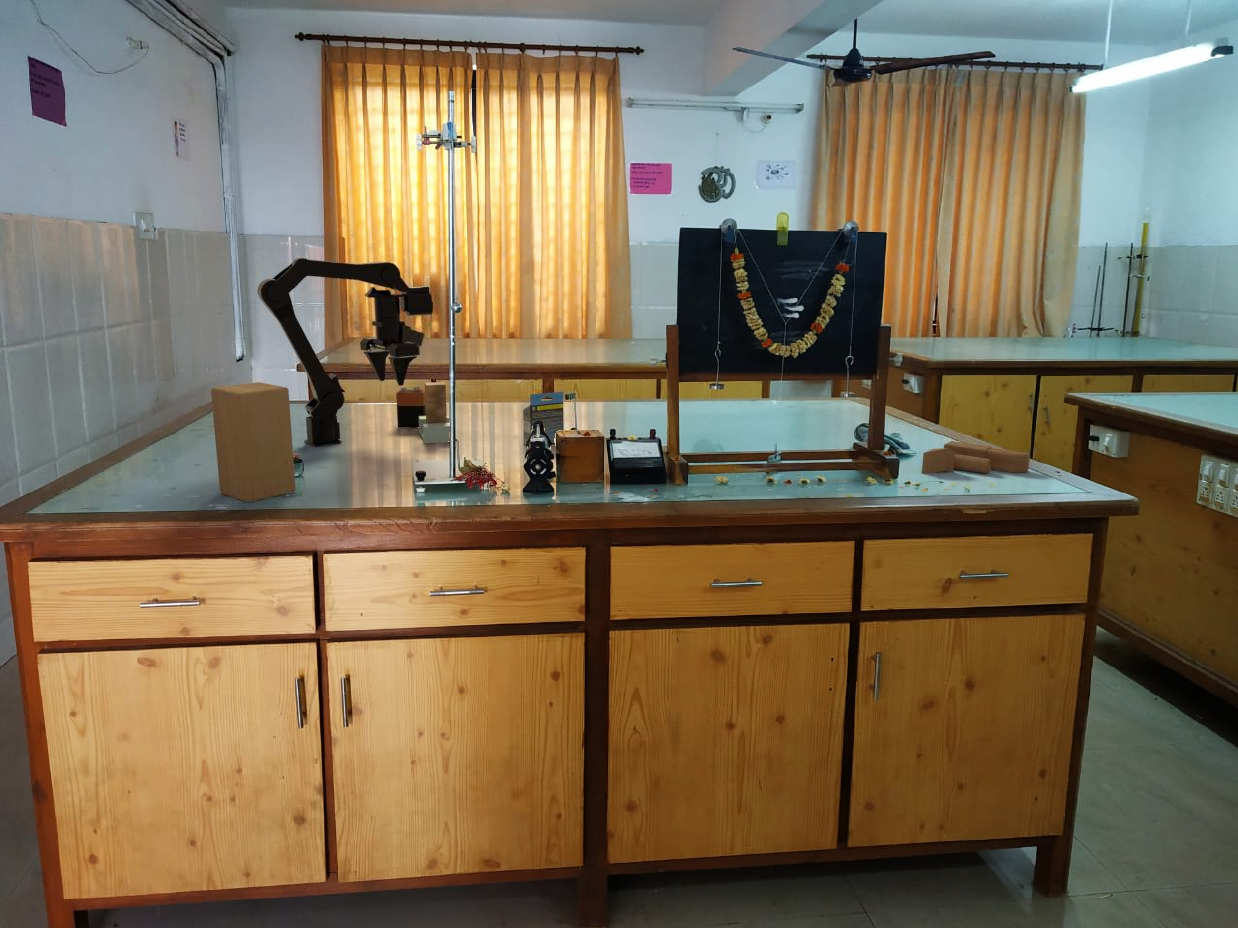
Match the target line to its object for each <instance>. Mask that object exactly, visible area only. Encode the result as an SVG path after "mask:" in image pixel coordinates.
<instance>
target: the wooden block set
mask: <svg viewBox="0 0 1238 928" xmlns="http://www.w3.org/2000/svg"><path fill="white" fill-rule="evenodd" d="M1030 460H1031V454H1030V453H1029V452H1023V451H1017V450H1011V449H1004V448H1003V449H1002V448H996V447H992V446H989V445H982V444H976V443H969V442H961V441H955V440H954V441H953V440H951V441H948V442H946V443H944V444H943V448H931V449H929V450H927V451H925V452H923V455H922V466H921V474H940V473H941V474H943V473H946V474H947V473H954V470H957V471H964V472H971V473H978V474H983V475H988V474H989V473H990V472H991V471H995V472H1001V473H1002V472H1003V473H1009V474H1010V473H1011V474H1023V473H1024V474H1026V473H1027V472H1029V468H1030Z"/></svg>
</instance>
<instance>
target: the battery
mask: <svg viewBox="0 0 1238 928" xmlns="http://www.w3.org/2000/svg"><path fill="white" fill-rule="evenodd" d="M395 396H396V398H395V399H396V419H397V427H398V428H399V427H419V416H426V406H425V389H422V386H414V387H412V389H407V387H400V389H399V390H398V391H397V392H396V393H395Z"/></svg>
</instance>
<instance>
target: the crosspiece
mask: <svg viewBox="0 0 1238 928" xmlns="http://www.w3.org/2000/svg"><path fill="white" fill-rule="evenodd" d="M449 421H451V419H450V416H449V415H448V414H447V423H432V424H426V416H419V428H418V431H419V435H420V437H421V438H422V441H423V443H424V444H425V443H426V444H425V445H428V444H427V443H435V444H449V443H448V440H449V432H450V423H451V422H450V423H449Z"/></svg>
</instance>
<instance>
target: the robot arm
mask: <svg viewBox="0 0 1238 928" xmlns="http://www.w3.org/2000/svg"><path fill="white" fill-rule="evenodd" d="M306 277H314V278H315V277H317V278H326V279H327V278H328V279H341V280H349V281H350V280H351V281H358V282H363V283H366V284H371V285H375V286H378V287H381V288H386V289H376V287H374V286H370V287H369V288H370V289H369V290H368V291H367V292H366V293H364V297H366V298H371V299H373V302H374V303H373V304H374V316H375V317H374V319H375V320H371V325H372V326H374V327H375V336H373V337H363V338H362V339H361V340H360V341H359V343H360V344H359V345H360V350H361V351H363V352H362V353H363V354H364V355H365V358H367V360H368V362H369V364H370V365H371V367H372V369H373V370H374V373H375V374H376V377H377V378H378V380H379V381H380V382H384V381H385V380H386V369H387V367H386V366H387V363H386V362H387V358H388V360H389V362H390V367H391V368H392V373H393V374H394V378H395V380H396V383H397V385H398V386H399V387H401V386H404V383H405V380H406V375H407V372H408V368H409V365H410V364H411V362H412V361H413V360H415V359H417V357H418V356H420V355H421V349H420V348H421V347H422V345H423V342H424V338H425V334H426V333H423V332H420V331H417V330H414V329H412V327H411V326H408V325H407V324H406V322H405V320H401V312H402V313H405V314H406V316H407V317H414V316H415V317H417V316H418V317H419V316H432V314H433V312H434V300H433V298H432V293H431V291H430V287H429V286H427V285H421V286H413V287H411V286H410V287H409V286H408V284H407V283H406V282H405V281H404V279H403V278H402V277H401V271H400V269H399V267H398V266H397V265H396V264H395V263H393V262H389V261H376V262H375V261H372V262H364V263H363V262H362V263H350V262H349V263H348V262H338V261H328V260H327V261H326V260H319V259H318V260H316V259H307V258H304V257H296V258H294V260H293V261H292V262H291V263H290V264H289V265H288V266H286V267H285V268H283V269H282V270H281V271H280V272H279V273H277V274H275V276H273V278H267V279H263V280H262V281H261V282H260V283H259V284H258V287H257V290H256V294H257V296H258V298H259V300H260V301H261V302H262V304H263V305H264V306H265V307H266V308H267V310H268V311H269V312H270V314H272V316H273V317H274V318H275V319H276V321H277V322H278V323H279V325H280V328H281V329H282V331H283V333H284V334H285V335H284V336H286V338H287V341H288V342H289V344H290V345H291V348H292V350H293V351H294V354H295V355H296V357H297V359H298V361H299V362H300V364H301V365H302V368H303V370H304V371H305V373H306V375H307V378H308V382H309V385H310V389H311V392H312V396H313V397H312V398H311V399H310V400H309V402H307V404H305V406H304V409H305V410H306V413H307V414H308V416H306V417H305V425H306V439H304V443H306V444H308V445H311V446H314V447H321V446H328V445H330V446H331V445H336V444H341V443H342V442H343V441H342V440H340V439H341V429H340V425H341V424H340V422H339V421H338V415H337V414H338V411H339V410H340V409H341V408H342V407H343V406H344V403H345V399H346V398H345V396H344V393H346V390H345V389H343V387H342V386H341V385H340V381H339V378H338V376H337V375H335V374H334V373H332V372H331V373H329V374H328V373H327V372H326V371H325V369H324V367H323V366H322V363H321V361H320V360H319V357H318V356H317V353H316V352H315V350H314V348H313V346H312V344H311V343H310V341H309V339H308V337H307V335H306V333H305V332H304V330H303V328H302V325H301V324H300V322H299V320H298V318H297V316H296V314H295V308H294V305H293V302H292V299H291V295H290V292H292V291H293V290H295V288H296V287H297V286H298V285H299V284H300V283H302V281H303V280H304V279H306ZM388 288H389V289H391V290H392V291H395V292H396V291H397V292H401V293H392V292H391V290H389V289H388Z"/></svg>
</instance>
